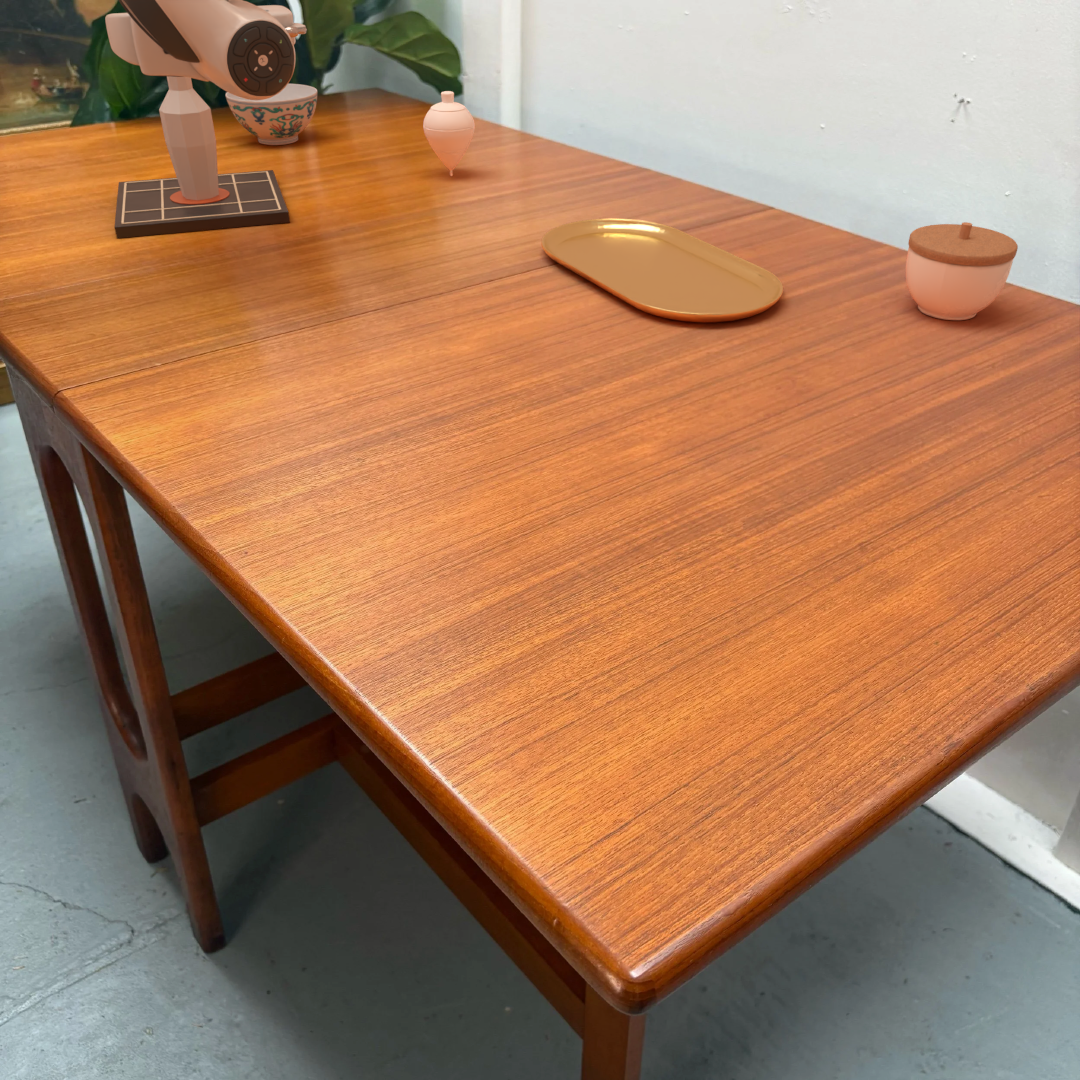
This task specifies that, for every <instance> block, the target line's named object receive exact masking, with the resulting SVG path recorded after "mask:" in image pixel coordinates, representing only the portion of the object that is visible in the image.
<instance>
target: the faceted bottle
mask: <svg viewBox="0 0 1080 1080" xmlns="http://www.w3.org/2000/svg"><path fill="white" fill-rule="evenodd" d="M166 80H167V85H168V91H167V92H166V94H165V97H164V99H163V101H162V102H161V104H160V107H159V109H158V112H159V116H160V122H161V126H162V131H163V137H164V141H165V145H166V148H167V151H168V154H169V157H170V161H171V163H172V167H173V170H174V173H175V176H176V178H177V179H178V183H179V186H180V189H181V192H182V195H183V196H184V197H185V198H186V199H190V200H204V199H210V198H213V197H215V196H217V195H219V189H218V174H219V172H218V153H217V152H218V151H217V139H216V138H217V137H216V133H215V127H214V122H213V121H214V120H213V114H212V109H211V107H210V106H209V105H208V104H207V103H206V102H205V100H204V99H203V98H202V96H200V95H199V94H198V93H197V91H196V90H195V89H194V88H193V87H194V86H193V82H192V78H189V77H172V76H166Z"/></svg>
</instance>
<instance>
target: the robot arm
mask: <svg viewBox="0 0 1080 1080" xmlns="http://www.w3.org/2000/svg"><path fill="white" fill-rule="evenodd" d="M118 2H119V3H120V5H121V6H122V7H123V9H124V11H125V12H118V13H117V12H116V13H109V14H106V16H105V19H104V20H105V27H106V32H107V37H108V41H109V45H110V48H111V50H112V52H113V53H114V54H115V55H116V56H118V58H120V59H122V60H123V61H125V62H127V63H129V64H131V65H134V66H139V68H140V71H141V73H142V74H143V75H145V76H152V77H153V76H156V77H167V76H172V77H189V78H191V79H194V80H198V81H202V82H208V83H209V82H210V83H213V84H214V85H215V86H217V87H218V88H220V89H222V90H223V91H225V92H226V93H227V92H229V93H231V94H233V95H236V96H238V97H241V98H245V99H250V100H263V99H267V98H270V97H273V96H275V95H276V94H278V93H279V92H281V91H282V90H283V89H284V88H285V87H286V85H287V84H290V81H291V79H292V78H293V75H294V72H295V69H296V68H295V67H296V49H295V44H296V38H297V37H298V36H299V35H305V34H307V31H308V29H307V27H306V25H305V24H302V23H299V22H294V15H293V12H292V11H291V10H290V9H289V8H288V7H287V6H284V5H279V4H271V5H270V4H269V5H268V4H267V5H256V4H254V3H252V2H249V1H247V0H118Z"/></svg>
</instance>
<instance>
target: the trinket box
mask: <svg viewBox="0 0 1080 1080" xmlns="http://www.w3.org/2000/svg"><path fill="white" fill-rule="evenodd" d="M907 245H908V249H907V254H906V260H905V271H904V272H905V283H906V288H907V290H908V293H909V295H910V296H911V298H912V300H913V301H914V302H915V304H916V305H917V309H918V311H920V312H921V313H922V314H924V315H927V316H929V317H931V318H936V319H939V320H946V321H966V320H969V319H973V318H975V317H976V315H977V314H978V313H979V312H981V311H983V310H984V309H986V308H988V307H989V306H990V305H991V304H992V303H993V302H994V301H995V300H996V299H997V298H998V296H999V295H1000V294H1001V292H1002V291H1003V288H1004V286H1005V285H1006V282H1007V280H1008V278H1009V275H1010V273H1011V270H1012V266H1013V262H1014V259H1015V257H1016V255H1017V252H1018V247H1019V246H1018V243H1017V241H1015V240H1014V238H1012V237H1010V236H1009V235H1006V234H1005V233H1002V232H999V231H997V230H993V229H991V228H990V229H989V228H986V227H980V226H975V225H973V223H972V222H967V221H965V222H961V224H954V223H943V224H942V223H939V224H930V225H924V226H920V227H918V228H916V229H914V230H912V231H911V233H910V234H909V238H908V243H907Z"/></svg>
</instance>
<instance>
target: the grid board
mask: <svg viewBox="0 0 1080 1080" xmlns="http://www.w3.org/2000/svg"><path fill="white" fill-rule="evenodd" d="M117 187H118V188H117V195H116V196H117V197H116V206H115V216H114V217H115V218H114V227H113V228H114V233H115V236H116V239H125V238H137V237H147V236H158V235H159V236H160V235H169V234H170V235H171V234H179V233H180V234H181V233H192V232H203V231H212V230H224V229H234V228H245V227H256V226H267V225H279V224H288V223H291V220H290V211H289V209H288V206H287V204H286V202H285V199H284V196H283V193H282V189H281V188H280V185H279V182H278V180H277V177H276V174H275V172H274V169H269V170H257V171H256V170H254V171H244V172H243V171H242V172H231V173H218V189H219V195H217V196H215V197H213V198H210V199H204V200H190V199H186V198H185V197H184V196H183V195H182V192H181V189H180V186H179V183H178V179H177V177H167V178H154V179H142V180H140V179H139V180H128V181H119V182H118V186H117Z"/></svg>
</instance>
